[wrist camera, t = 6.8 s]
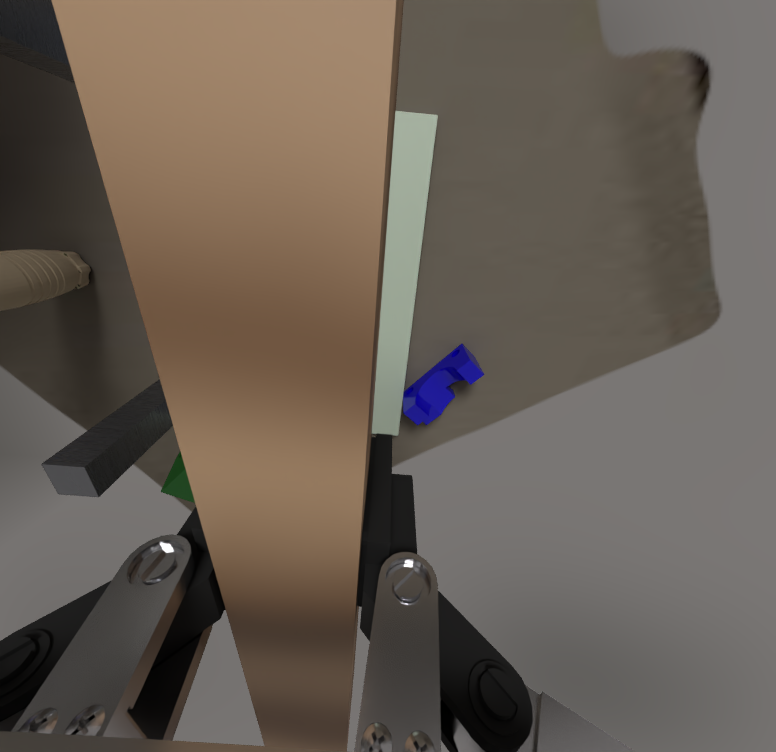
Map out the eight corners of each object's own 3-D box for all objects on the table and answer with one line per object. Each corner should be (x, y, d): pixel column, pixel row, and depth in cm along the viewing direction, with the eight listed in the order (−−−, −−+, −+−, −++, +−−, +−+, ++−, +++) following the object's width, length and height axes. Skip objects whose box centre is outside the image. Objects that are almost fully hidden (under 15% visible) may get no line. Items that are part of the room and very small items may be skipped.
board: (325, 107, 23) (322, 103, 22) (436, 119, 23) (437, 115, 22) (327, 424, 36) (325, 429, 35) (398, 430, 36) (398, 435, 35)
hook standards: (156, 53, 22) (-525, -393, 6) (289, 67, 22) (-2, -327, 6) (215, 368, 33) (44, 518, 17) (304, 375, 33) (217, 531, 17)
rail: (187, -156, 4) (-173, -790, 2) (413, -128, 4) (443, -694, 2) (291, 668, 15) (270, 764, 13) (353, 672, 15) (344, 769, 13)
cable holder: (424, 411, 35) (427, 434, 31) (402, 391, 34) (403, 413, 30) (483, 365, 32) (494, 384, 29) (461, 342, 31) (470, 359, 27)
